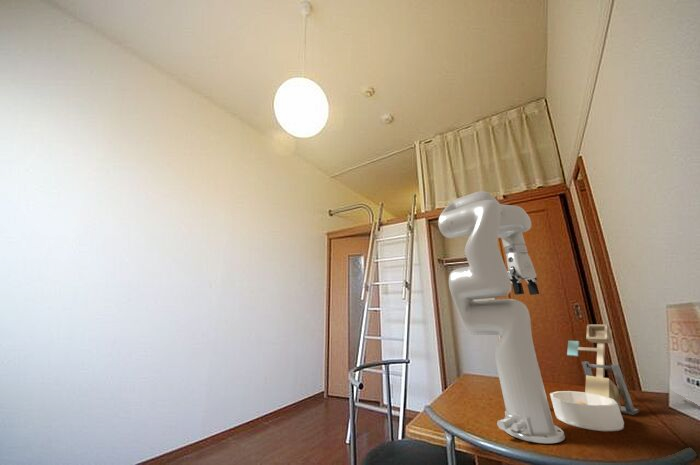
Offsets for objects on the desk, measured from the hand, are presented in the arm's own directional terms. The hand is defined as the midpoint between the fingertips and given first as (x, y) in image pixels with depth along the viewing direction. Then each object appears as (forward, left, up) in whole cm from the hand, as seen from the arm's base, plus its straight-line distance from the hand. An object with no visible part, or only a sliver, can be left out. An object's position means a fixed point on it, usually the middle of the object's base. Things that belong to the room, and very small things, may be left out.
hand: (527, 294), depth 97 cm
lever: (+6, -11, -24) cm, 28 cm away
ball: (-15, -14, -32) cm, 38 cm away
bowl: (-14, -14, -34) cm, 40 cm away
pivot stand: (+2, -14, -34) cm, 37 cm away
